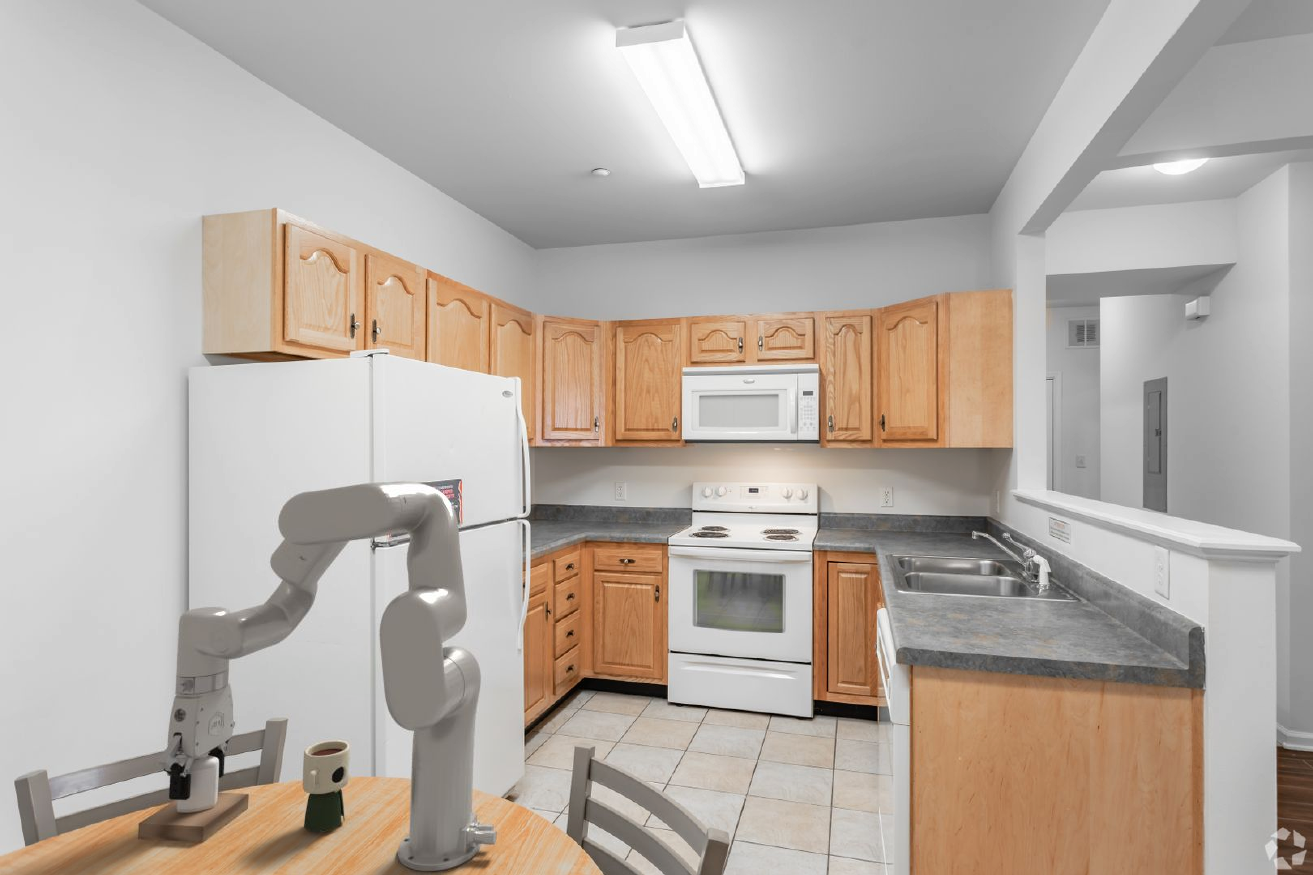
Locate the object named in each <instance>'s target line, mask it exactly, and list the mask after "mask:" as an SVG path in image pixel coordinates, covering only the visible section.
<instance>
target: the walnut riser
mask: <svg viewBox="0 0 1313 875" xmlns="http://www.w3.org/2000/svg"><path fill="white" fill-rule="evenodd" d="M249 796H250V794H249V793H234V792H219V791H218V798H217V802H216V804H215V806H214V807H212V808H210V809H207V810H203V811H198V812H191V813H179V812H177V800H173V801H171V802H170V803H169V804H167V805H165V806H164V807H162V808H161V809H159V810H158V811H155V812H154V813H152V814H151V815H149V816H148V817H146V818H145V819H143V820H141V821H140V822H139V823H138V828H137V829H138V831H137V836H138V837H137V839H138V840H150V841H167V842H169V841H170V842H187V843H205V841H207V840H208V839H210V838H211V837H212V836H213V835H215V834H216V833H217V832H219V831H220V830H221V829H223V828H224V827H225V826H227V825H228V824H229V823H231V822H232V821H233V820H235V819H236V818H237V817H239V816H240V815H241V814H242V813H244V812H245V811H246V810H248V809H249Z"/></svg>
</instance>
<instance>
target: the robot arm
mask: <svg viewBox="0 0 1313 875" xmlns="http://www.w3.org/2000/svg"><path fill="white" fill-rule="evenodd" d="M277 519H278V520H277V524H278V529H279V532H280V533H279V534H281V536H282V537H283V538H284V539H283V540H282V541H281V543H280V544H279V545H278V546H277V548H276V549H275V550H274V552H273V553H272V554H271V557H270V560H269V564H270V568H271V569H272V572H274V573H275V575H276V576H277V577H278V578H279V579H281V582H280V584H279V585H278V586H277V587H276V589H275V590H274V592H273V593H272V594H271V595H270V597H269V598H268V599H267V600H266V601H265V602H264V603H262V604H259V605H256V606H252V607H248V608H245V609H241V610H238V611H234V612H230V610H229V609H227V608H225V607H222V606H220V607H219V606H208V607H198V608H192V609H190V610H187V611H185V612H183V613H182V614H181V616H180V617H179V620H178V635H177V636H178V637H177V639H178V640H177V655H176V656H177V657H176V658H177V659H176V674H175V675H176V676H175V678H176V679H175V691H174V692H175V693H174V695H175V696H174V698H173V702H172V707H171V711H170V712H171V713H170V718H169V722H168V723H169V724H168V731H167V732H168V733H167V747H166V749H164V752H163V753H162V754H161V756H160V757H159V760H158V764H159V765H160V766H161V767H162V768H163V771H164V772H165V773H166V775H167V777H169V790H168V799H169V800H173V801H175V800H187V799H189V798H190V788H191V774H188V772H189V769H190V766H191V763H192V761H193V758H198V757H200V756H202V755H204V754H205V753H207V752H208V755H209V756H214V757H216V758H218V760H219V777H218V779H221V778H223V776H224V775H225V774H224V773H225V759H226V758H225V755H226V753H227V751H228V743H229V741H230V739H231V737H232V736H233V733H234V728H235V725H236V721H234V704H233V703H234V700H233V693H232V687H231V683H230V682H229V674H230V672H229V671H230V660H236V659H240V658H242V657H246V656H248V655H251V654H254V653H256V652H259V651H261V650H264V649H267V648H270V647H272V646H275V645H278V644H280V643H281V642H283V641H284V640H285V639H287V638H288V637H289V636H290V635H291V634H292V633H293V632H294V630H296V628H297V627H298V626H299V625H300V623H301V622H302V621H303V619H304V618H305V617H306V616H307V615H308V614H309V611H310V610H311V609H312V607H313V605H314V602H315V600H316V597H317V592H318V582H319V580H320V579H321V578H322V577H323V575H324V574H325V572H326V571H328V569H329V567H331V565H332V564H333V562H334V561H335V560H336V558H338V556H339V555H340V554H341V552H342V551H343V550H344V549H345V547H346V546H347V544H349V542H350V541H359V540H366V539H373V538H379V537H385V536H391V535H397V534H400V533H401V534H402V533H406V534H408V535H409V539H410V540H409V543H408V547H407V553H406V569H407V577H408V578H407V579H408V590H407V591H404V592H403V593H400V594H399V595H397V596H396V597H395V598H393V599H392V600H391V601H390V602H389V604H387V606H386V607H385V609H384V611H383V613H382V615H381V620H380V624H379V645H380V646H379V647H380V655H381V668H382V680H383V688H384V697H385V702H386V707H387V711H388V712H389V714H390V716H391V718H392V719H393V720H394V722H395V724H397V725H398V726H399V727H400V728H402V729H403V730H407V731H411V732H413V734H412V735H413V737H412V750H411V751H412V754H411V780H410V802H409V803H410V806H409V808H410V809H409V810H410V811H409V829H408V830H409V831H408V834H407V835H406V836H405V837H404V838H403V839H402V840H401V841H400V843H399V844H398V847H397V848H398V849H397V850H398V851H397V852H398V853H397V856H398V859H399V861H400V863H401V864H402V865H403V866H405V867H407V868H409V869H411V870H415V871H419V872H436V871H437V872H438V871H443V870H449V869H452V868H455V867H457V866H460V865H461V864H464V863H465V862H467V861H469V860H471V858H473V857H474V856H475V855H476V854H477V853H478V851H479V850H480V848H481V845H487V846H488V845H490V846H495V845H496V842H497V836H498V832H497V830H494V828H495V827H494V824H492V823H491V824H490V823H484V824H483V823H480V822H479V821H478V812H473V786H474V785H473V783H474V756H475V755H474V754H475V752H474V751H475V749H474V748H475V736H476V735H475V734H476V733H475V731H476V719H477V709H478V703H479V697H480V691H481V684H482V682H481V681H482V680H481V676H482V675H481V668H480V666H479V662H478V661H477V659H476V656H475V655H473V654H472V653H471V651H469V650H468V649H466V648H464V647H461V646H454V645H453V646H451V645H450V646H444V647H443V644H444V643H445V642H447V641H449V640H450V639H452V638H453V637H455V636H456V635H457V634H458V633H460V632H461V631H462V630H463V628H464V626H465V625H466V622H467V618H468V609H467V607H468V606H467V598H466V592H465V589H466V588H465V581H464V580H465V579H464V570H463V563H462V556H461V554H462V553H461V544H460V532H459V531H460V530H459V521H458V517H457V513H456V509H455V508H454V506H453V504H452V503H451V501H450V500H449V499H448V497H447V496H446V495H445V494H444V493H443V492H441V491H440V490H438V488H435V487H433V486H431V485H428V484H424V483H421V482H415V481H388V482H385V481H384V482H368V483H360V484H354V485H353V484H352V485H348V486H340V487H334V488H327V489H320V490H312V491H304V492H301V493H297V494H294V495H293V496H292V497H290V499H288V500H287V501H286V502H285V503H284V505H283V506H282V508H281V510H280V513H279V514H278V518H277ZM183 753H184V754H183ZM180 760H184V761H183V762H184V764H183V766H181V764H179V763H180Z"/></svg>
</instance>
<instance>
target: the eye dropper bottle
mask: <svg viewBox="0 0 1313 875" xmlns="http://www.w3.org/2000/svg"><path fill="white" fill-rule="evenodd" d="M208 753H209V752H207V753H205V754H204V755H202V756H200V757H198V758H193V761H192V763H191V766H190V769H189V772H188V774H191V788H190V798H189V799H187V800H177V812H179V813H191V812H198V811H203V810H207V809H210V808H212V807H214V806H215V804H216V802H217V798H218V792H219V778H218V777H219V760H218V758H216V757H214V756H209V755H208ZM183 764H184V761H183V762H181V764H180V765H181V766H183Z"/></svg>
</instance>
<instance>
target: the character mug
mask: <svg viewBox="0 0 1313 875" xmlns="http://www.w3.org/2000/svg"><path fill="white" fill-rule="evenodd" d="M350 760H351V745H350V744H349V742H347V741H345V740H340V739H339V740H335V739H334V740H326V741H321V742H317V743H314V744H312V745H310V746H308V747H306V748H305V750H304V751H303V766H302V767H303V768H302V790H303V791H304V793H307V794H309V795H308V798H307V803H306V807H305V808H306V809H305V814H304V820H303V822H304V823H303V828H304V829H305V830H307V831H313V832H322V833H323V832H329V831H332V830H334V829H336V828H338V827H340V826H341V825H342V818H343V822H345V821H346V820H345V808H344V807H345V805H344V797H343V790H342V788H345V787H346V786H347V785H348V783H349V779H350V773H349V765H350Z"/></svg>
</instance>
